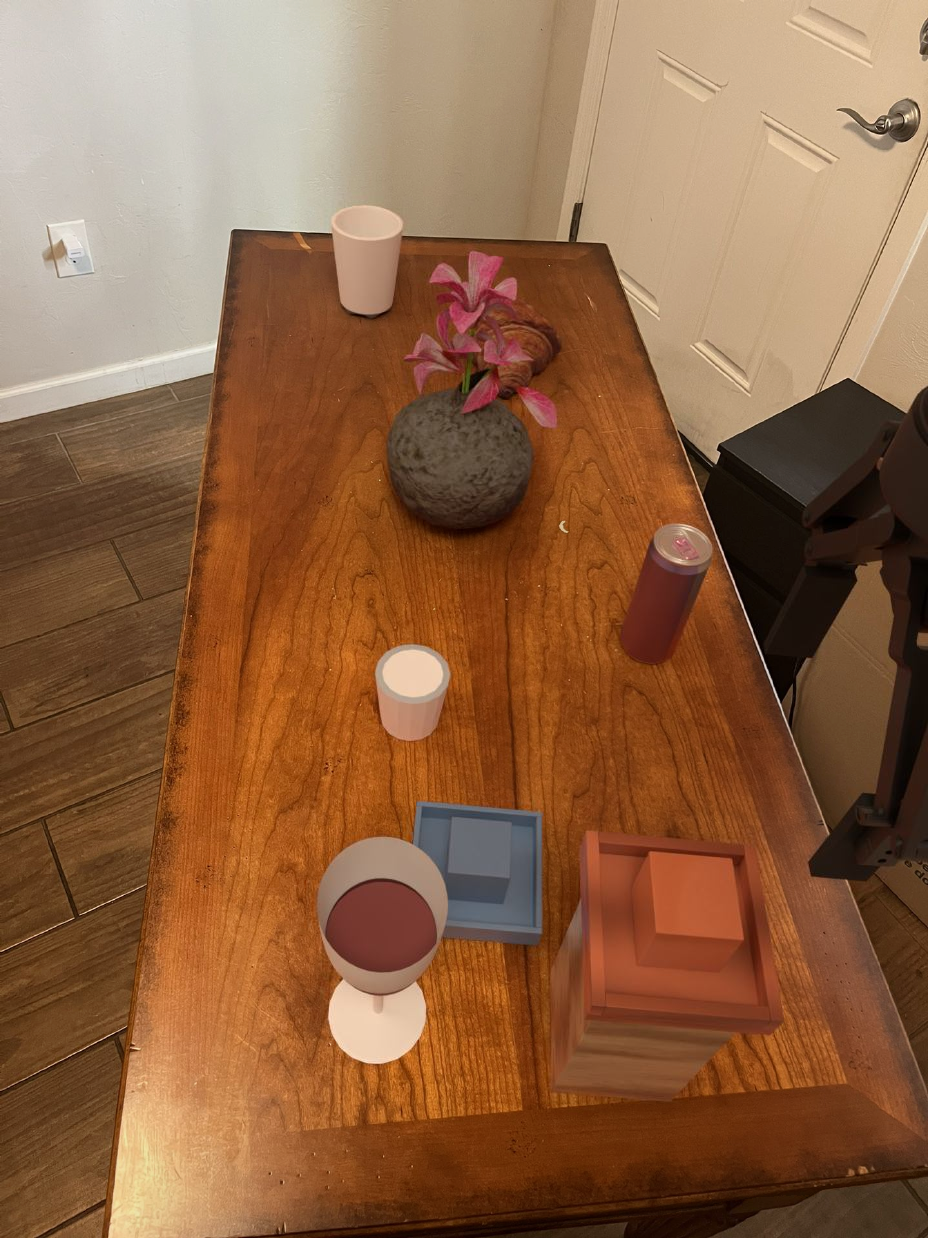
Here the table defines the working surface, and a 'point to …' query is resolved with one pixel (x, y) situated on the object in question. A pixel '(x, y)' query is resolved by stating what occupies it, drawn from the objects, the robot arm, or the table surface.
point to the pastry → (532, 338)
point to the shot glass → (411, 690)
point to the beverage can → (665, 592)
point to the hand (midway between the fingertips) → (809, 752)
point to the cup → (366, 257)
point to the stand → (651, 981)
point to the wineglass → (380, 943)
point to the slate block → (478, 860)
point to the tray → (524, 892)
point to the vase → (465, 412)
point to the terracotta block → (686, 912)
